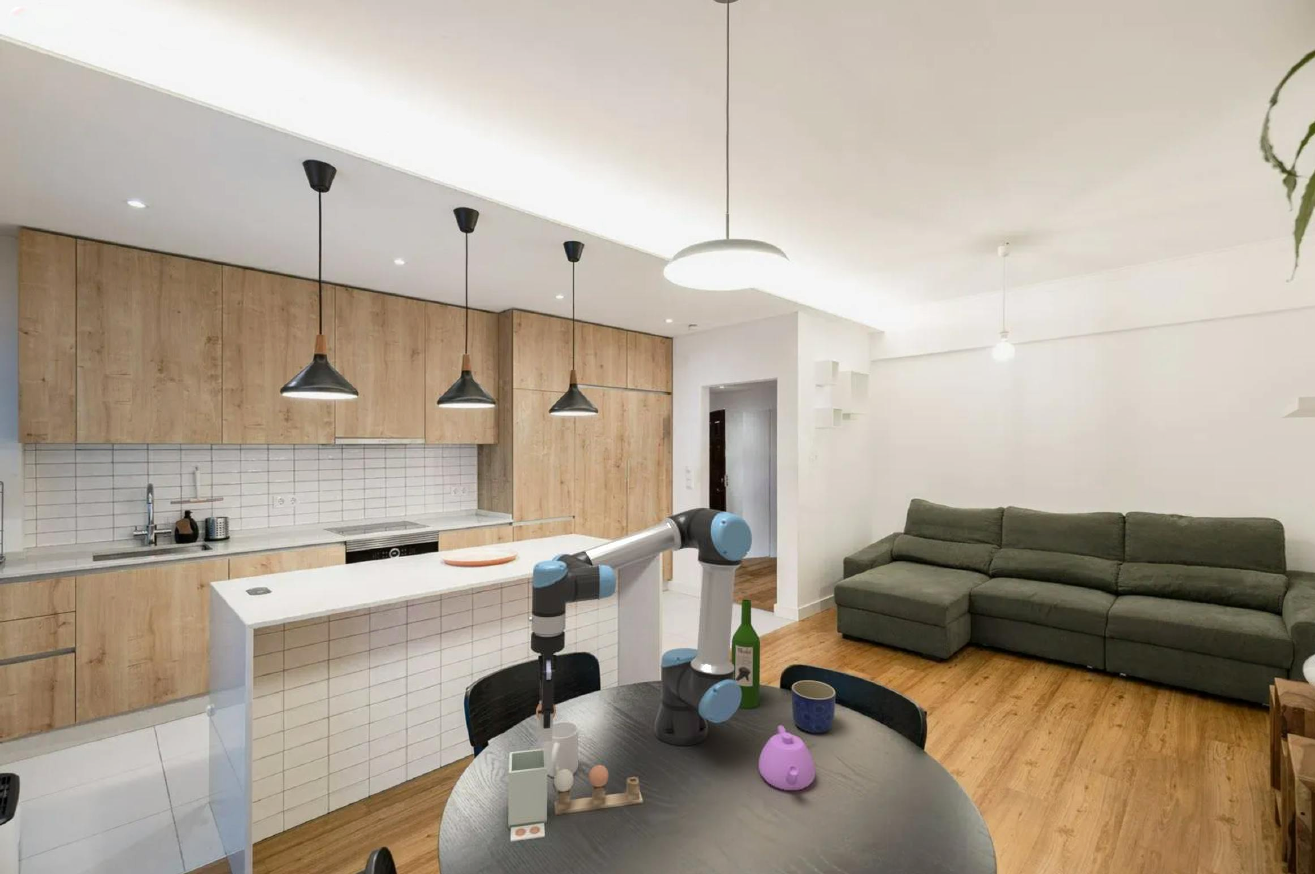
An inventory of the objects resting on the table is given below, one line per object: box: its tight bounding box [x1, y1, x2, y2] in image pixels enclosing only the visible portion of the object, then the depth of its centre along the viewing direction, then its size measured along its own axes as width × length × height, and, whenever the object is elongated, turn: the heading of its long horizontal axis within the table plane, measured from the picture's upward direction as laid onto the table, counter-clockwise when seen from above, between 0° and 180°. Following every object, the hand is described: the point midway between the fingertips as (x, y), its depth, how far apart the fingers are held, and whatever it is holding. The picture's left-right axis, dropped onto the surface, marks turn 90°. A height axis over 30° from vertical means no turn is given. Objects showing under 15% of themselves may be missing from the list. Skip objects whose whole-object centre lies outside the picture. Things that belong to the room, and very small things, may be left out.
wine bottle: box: [731, 598, 761, 710], centre depth 185 cm, size 9×9×32 cm
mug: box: [544, 720, 579, 778], centre depth 145 cm, size 12×8×10 cm
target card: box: [510, 823, 546, 842], centre depth 124 cm, size 7×4×1 cm, turn 103°
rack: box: [553, 776, 644, 816], centre depth 134 cm, size 20×4×4 cm, turn 103°
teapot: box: [758, 725, 816, 791], centre depth 145 cm, size 14×20×11 cm
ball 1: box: [535, 702, 557, 721], centre depth 131 cm, size 4×4×4 cm
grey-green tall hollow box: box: [507, 748, 548, 829], centre depth 130 cm, size 8×8×12 cm
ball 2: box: [553, 769, 574, 791], centre depth 132 cm, size 4×4×4 cm
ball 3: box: [588, 764, 609, 787], centre depth 134 cm, size 4×4×4 cm
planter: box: [791, 679, 836, 734], centre depth 170 cm, size 12×12×11 cm
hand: (545, 734), depth 131 cm, fingers closed on ball 1, 4 cm apart
